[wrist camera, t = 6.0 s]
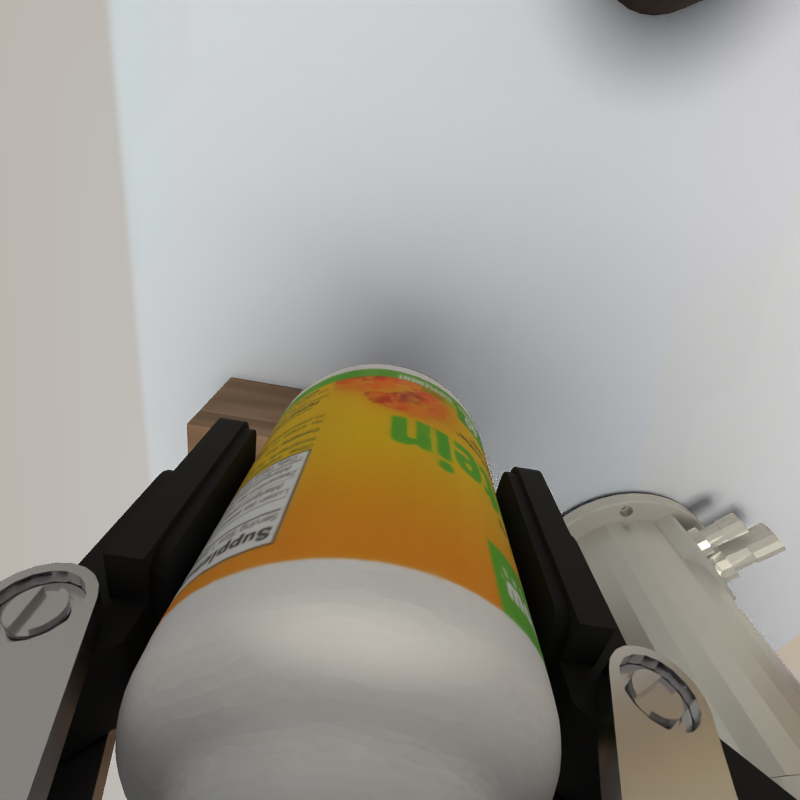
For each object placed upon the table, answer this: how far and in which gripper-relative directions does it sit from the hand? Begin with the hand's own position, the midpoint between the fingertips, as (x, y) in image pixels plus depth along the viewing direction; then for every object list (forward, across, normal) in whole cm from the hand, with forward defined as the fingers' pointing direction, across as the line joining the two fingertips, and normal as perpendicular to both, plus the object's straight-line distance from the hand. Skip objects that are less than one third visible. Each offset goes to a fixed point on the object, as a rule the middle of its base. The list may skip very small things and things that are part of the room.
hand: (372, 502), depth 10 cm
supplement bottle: (+2, 0, 0) cm, 2 cm away
